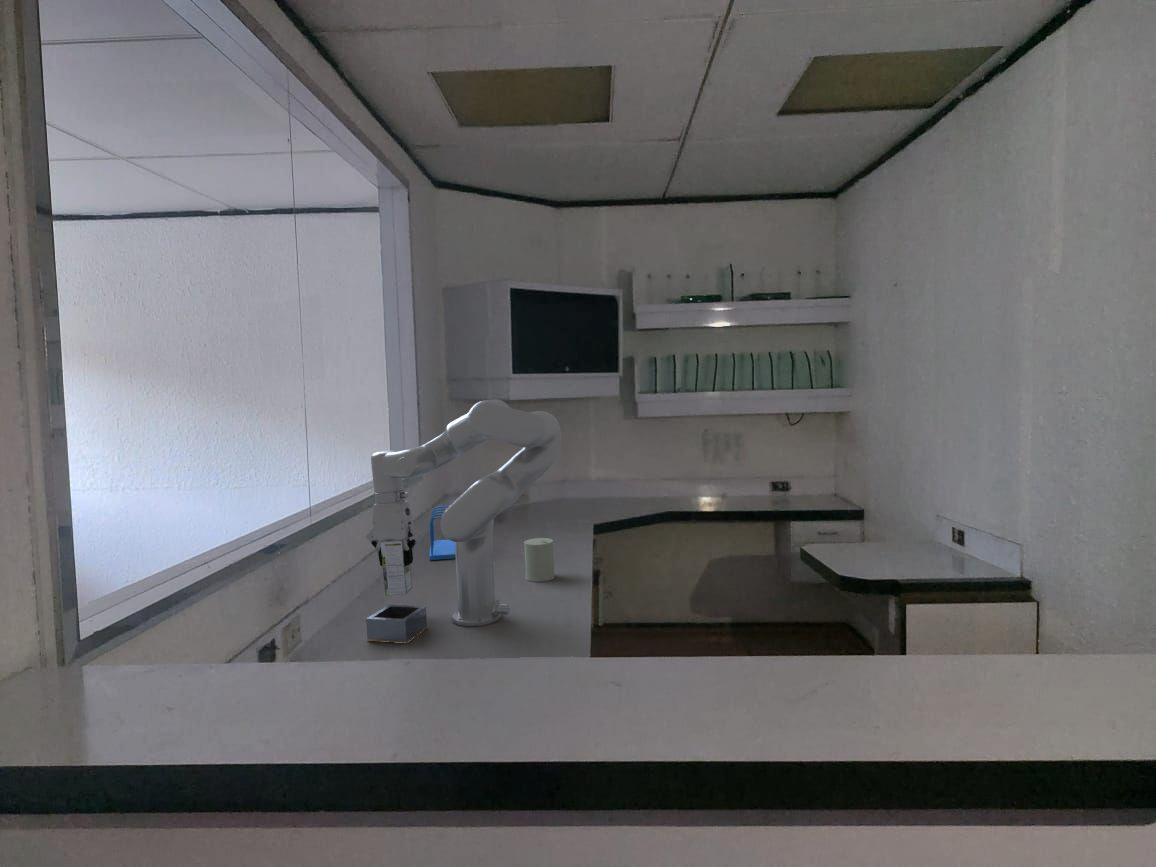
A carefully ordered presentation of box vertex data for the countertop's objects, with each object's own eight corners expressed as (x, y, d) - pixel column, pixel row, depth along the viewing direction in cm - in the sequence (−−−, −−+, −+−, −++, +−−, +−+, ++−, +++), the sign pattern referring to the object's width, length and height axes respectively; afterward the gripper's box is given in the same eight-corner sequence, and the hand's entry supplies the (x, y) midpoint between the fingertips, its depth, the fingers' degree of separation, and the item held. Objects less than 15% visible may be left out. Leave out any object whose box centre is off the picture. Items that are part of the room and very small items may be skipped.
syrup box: (391, 590, 182) (386, 537, 181) (413, 588, 182) (407, 535, 181) (385, 596, 176) (379, 542, 176) (407, 594, 176) (401, 540, 175)
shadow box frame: (427, 628, 169) (425, 606, 169) (406, 644, 159) (405, 620, 159) (390, 626, 172) (388, 604, 171) (367, 641, 162) (366, 618, 161)
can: (539, 583, 204) (538, 544, 203) (519, 578, 210) (517, 540, 209) (561, 576, 211) (559, 538, 210) (540, 571, 217) (538, 535, 216)
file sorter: (479, 557, 239) (477, 514, 238) (429, 561, 236) (427, 518, 235) (476, 542, 264) (474, 503, 263) (431, 545, 260) (429, 506, 259)
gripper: (426, 493, 179) (432, 560, 180) (368, 496, 184) (375, 561, 185) (412, 498, 172) (419, 567, 173) (352, 501, 176) (359, 568, 177)
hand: (396, 563), depth 179 cm, fingers closed on syrup box, 6 cm apart
